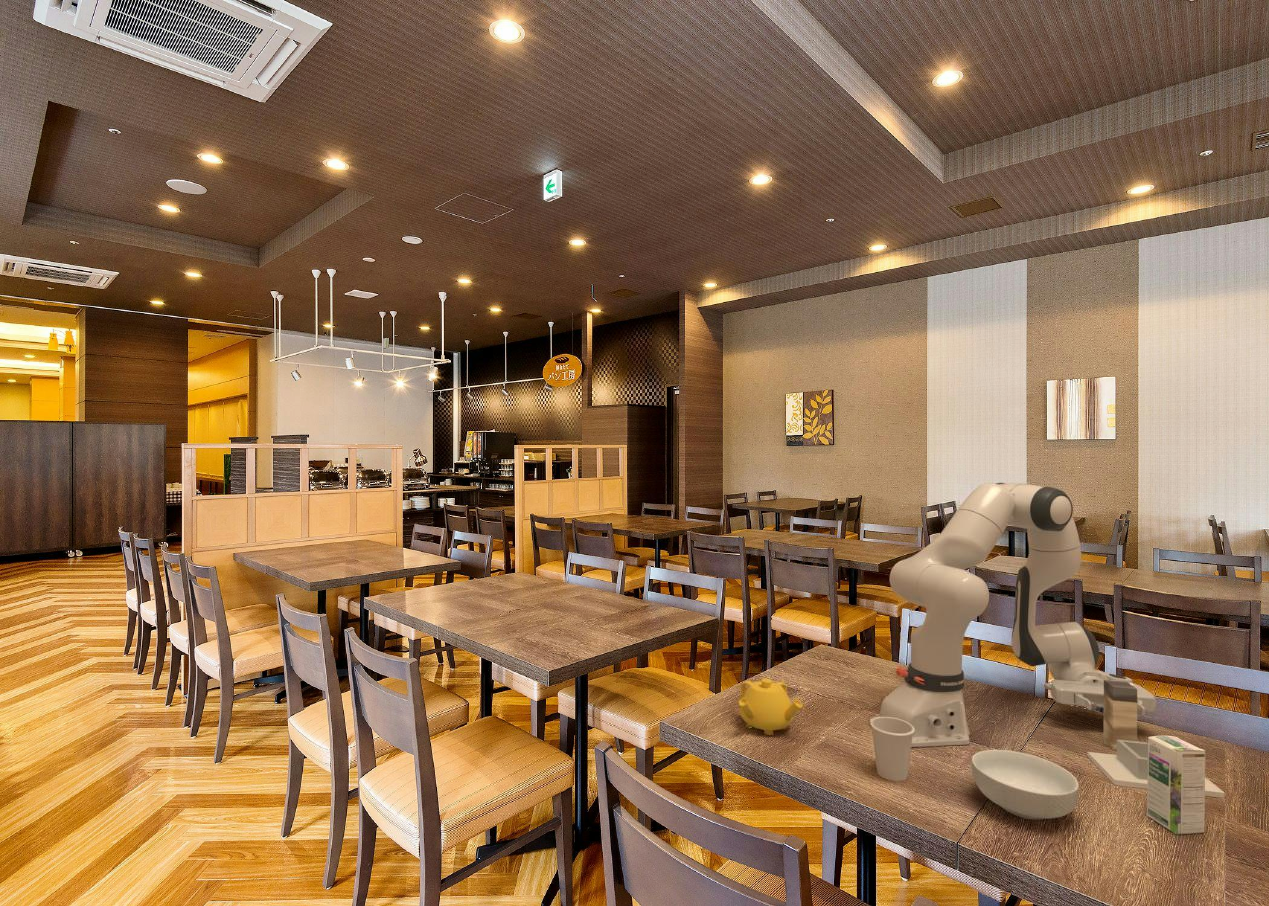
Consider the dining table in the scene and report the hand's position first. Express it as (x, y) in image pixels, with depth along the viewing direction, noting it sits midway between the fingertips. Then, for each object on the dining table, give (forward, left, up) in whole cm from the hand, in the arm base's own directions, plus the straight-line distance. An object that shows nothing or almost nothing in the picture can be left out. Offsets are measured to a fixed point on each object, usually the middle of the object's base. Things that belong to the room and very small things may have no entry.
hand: (1116, 709), depth 140 cm
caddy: (-8, -12, -8) cm, 16 cm away
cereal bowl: (-43, -13, -8) cm, 45 cm away
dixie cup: (-58, +4, -8) cm, 58 cm away
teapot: (-72, +30, -8) cm, 78 cm away
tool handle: (-1, -1, -8) cm, 8 cm away
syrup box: (-22, -25, -8) cm, 34 cm away
